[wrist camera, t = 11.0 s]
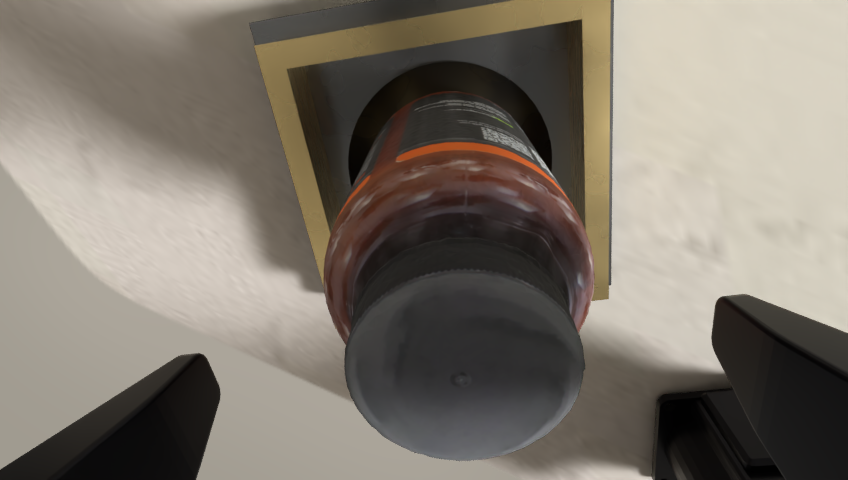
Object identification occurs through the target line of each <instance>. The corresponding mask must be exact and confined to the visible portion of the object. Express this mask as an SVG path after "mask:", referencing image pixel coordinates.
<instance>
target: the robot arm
mask: <svg viewBox="0 0 848 480" xmlns="http://www.w3.org/2000/svg"><path fill="white" fill-rule="evenodd" d="M711 339H712V346H713V349H714V352H715V354H716V356H717V358H718V360H719V362H720V364H721V366H722V368H723V370H724V372H725V374H726V376H727V378H728V380H729V382H730V384H731V386H732V389H720V390H709V391H697V392H686V393H674V394H666V395H662V396H661V397H659V398H658V399H657V402H656V418H655V433H654V449H653V464H652V479H653V480H848V333H846V332H843V331H841V330H838V329H835V328H833V327H830V326H828V325H825V324H822V323H820V322H817V321H815V320H812V319H810V318H807V317H804V316H802V315H799V314H797V313H794V312H791V311H789V310H786V309H784V308H781V307H778V306H776V305H773V304H771V303H768V302H765V301H763V300H760V299H758V298H755V297H753V296H750V295H746V294H740V295H731V296H722V297H720V298H719V299H718V300H717V302H716V305H715V312H714V320H713V328H712V338H711ZM219 401H220V388H219V385H218V383H217V380H216V378H215V376H214V373H213V371H212V369H211V367H210V364H209V362H208V360H207V358H206V357H205V356H204V355H203V354H200V353H196V354H186V355H180V356H178V357H176V358H174V359H173V360H171V361H170V362H168V363H167V364H165V365H164V366H162V367H160V368H159V369H157V370H156V371H154V372H153V373H151V374H149V375H148V376H146V377H145V378H143V379H142V380H140V381H139V382H137V383H135V384H134V385H132V386H131V387H129V388H128V389H126V390H125V391H123V392H121V393H120V394H118V395H116V396H115V397H113V398H112V399H110V400H109V401H107V402H105V403H104V404H102V405H101V406H99V407H98V408H96V409H95V410H93V411H91V412H90V413H88V414H87V415H85V416H84V417H82V418H80V419H79V420H77V421H76V422H74V423H73V424H71V425H69V426H68V427H66V428H65V429H63V430H62V431H60V432H59V433H57V434H55V435H54V436H52V437H51V438H49V439H47V440H46V441H44V442H43V443H41V444H40V445H38V446H36V447H35V448H33V449H32V450H30V451H29V452H27V453H26V454H24V455H23V456H21V457H19V458H18V459H16V460H15V461H13V462H12V463H10V464H8V465H7V466H5V467H4V468H2V469H1V470H0V480H196V478H197V475H198V472H199V468H200V466H201V462H202V459H203V456H204V452H205V449H206V445H207V442H208V439H209V435H210V431H211V428H212V425H213V421H214V418H215V415H216V411H217V408H218V404H219ZM667 404H669V405H667Z"/></svg>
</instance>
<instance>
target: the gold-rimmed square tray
mask: <svg viewBox="0 0 848 480" xmlns="http://www.w3.org/2000/svg"><path fill="white" fill-rule="evenodd" d="M613 20H614V0H374V1H369V2H363V3H358V4H352V5H347V6H341V7H335V8H330V9H324V10H319V11H313V12H308V13H302V14H297V15H291V16H286V17H280V18H274V19H269V20H263V21H258V22H252V23H249V24H250V28H251V31H252V35H253V38H254V42H255V45H256V46H254V48H255V51H256V55H257V58H258V62H259V65H260V69H261V72H262V76H263V79H264V82H265V86H266V89H267V93H268V96H269V100H270V103H271V107H272V110H273V114H274V117H275V121H276V124H277V128H278V131H279V134H280V138H281V141H282V145H283V148H284V152H285V155H286V159H287V162H288V166H289V169H290V173H291V176H292V180H293V183H294V186H295V190H296V193H297V197H298V200H299V204H300V207H301V211H302V214H303V218H304V221H305V225H306V228H307V232H308V235H309V239H310V242H311V245H312V249H313V252H314V256H315V259H316V263H317V266H318V270H319V273H320V277H321V280H322V284H323V283H324V280H323V278H324V260H325V255H326V250H327V246H328V242H329V238H330V235H331V232H332V230H333V227H334V225H335V222H336V220H337V218H338V216H339V214H340V211H341V209H342V207H343V204H344V201H345V200H346V198H347V196H348V194H349V192H350V190H351V188H352V186H353V184H354V182H355V180H356V178H357V176H358V174H359V172H360V170H361V168H362V166H363V164H364V162H365V160H366V158H367V155H368V153H369V151H370V149H371V147H372V145H373V143H374V141H375V139H376V137H377V135H378V134H379V132H380V131H381V129H382V127H383V126H384V125H385V124H386V122H387V121H388V120H389V119H390V118H391V117H392V116H393V115H394V114H395V113H396V112H397V111H399V110H400V109H401V108H402V107H404V106H405V105H407V104H408V103H410V102H412V101H414V100H416V99H418V98H421V97H423V96H426V95H429V94H433V93H437V92H442V91H459V92H465V93H471V94H475V95H478V96H481V97H483V98H485V99H488V100H490V101H491V102H493V103H495V104H497V105H498V106H500V107H501V108H502V109H503V110H505V111H506V112H507V113H509V114H510V115H511V116H512V118H513V119H514V120H515V121H516V122H517V124H518V125H519V126H520V127H521V129H522V130H523V131H524V133H525V134H526V136H527V138H528V139H529V141H530V142H531V144H532V145H533V147H534V148H535V150H536V151H537V153H538V154H539V155H540V157H541V158H542V160H543V162H544V163H545V164H546V166H547V167H548V169H549V171H550V172H551V173H552V175H553V176H554V178H555V179H556V181H557V182H558V184H559V185H560V187H561V188H562V189H563V191H564V192H565V194H566V195H567V197H568V199H569V201H570V202H571V203H572V205H573V207H574V208H575V210H576V212H577V214H578V215H579V217H580V219H581V221H582V223H583V226H584V229H585V231H586V233H587V236H588V239H589V242H590V245H591V249H592V254H593V258H594V273H595V280H594V293H593V297H592V300H591V301H595V300H604V299H609V285H611V230H612V125H613ZM323 287H324V285H323ZM335 329H336V327H335Z"/></svg>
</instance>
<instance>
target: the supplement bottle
mask: <svg viewBox="0 0 848 480" xmlns="http://www.w3.org/2000/svg"><path fill="white" fill-rule="evenodd" d="M323 280H324V283H323V285H324V293H325V297H326V303H327V305H328V310H329V312H330V314H331V317H332V320H333V323H334V325H335V327H336V329H337V331H338V333H339V335H340V336H341V338H342V339H343V341H344V342H345V344H346V348H345V365H344V367H345V376H346V382H347V387H348V389H349V392H350V395H351V398H352V399H353V401H354V403H355V405H356V407H357V409H358V410H359V412H360V413H361V414H362V415H363V416H364V418H365V419H366V420H367V422H368V423H369V424H370V425H371V426H372V427H374V428H375V429H376V430H377V431H378V432H379V433H380V434H381V435H382V436H384V437H385V438H387V439H388V440H390V441H392V442H394V443H396V444H397V445H399V446H401V447H404V448H406V449H408V450H410V451H413V452H415V453H419V454H424V455H427V456H429V457H434V458H439V459H447V460H456V461H470V460H480V459H488V458H492V457H497V456H501V455H506V454H509V453H512V452H514V451H517V450H519V449H522V448H524V447H526V446H528V445H530V444H532V443H533V442H535V441H536V440H538V439H540V438H542V437H544V436H545V435H547V434H548V433H549V432H550V431H551V430H552V429H553V428H554V427H555V426H556V425H558V424H559V423H560V422H561V420H562V419H563V418H564V417H565V416H566V415H567V413H568V412H569V411H570V410H571V408H572V406H573V404H574V403H575V400H576V398H577V396H578V394H579V390H580V386H581V383H582V379H583V371H584V369H585V362H584V355H583V346H582V343H581V339H580V336H579V331H580V329H581V327H582V325H583V323H584V321H585V319H586V316H587V314H588V311H589V307H590V305H591V300H592V297H593V293H594V280H595V273H594V258H593V254H592V249H591V245H590V242H589V239H588V236H587V233H586V231H585V229H584V226H583V223H582V221H581V219H580V217H579V215H578V214H577V212H576V210H575V208H574V207H573V205H572V203H571V202H570V201H569V199H568V197H567V195H566V194H565V192H564V191H563V189H562V188H561V187H560V185H559V184H558V182H557V181H556V179H555V178H554V176H553V175H552V173H551V172H550V171H549V169H548V167H547V166H546V164H545V163H544V162H543V160H542V158H541V157H540V155H539V154H538V153H537V151H536V150H535V148H534V147H533V145H532V144H531V142H530V141H529V139H528V138H527V136H526V134H525V133H524V131H523V130H522V129H521V127H520V126H519V125H518V124H517V122H516V121H515V120H514V119H513V118H512V116H511V115H510V114H509V113H507V112H506V111H505V110H503V109H502V108H501V107H500V106H498V105H497V104H495V103H493V102H491V101H490V100H488V99H485V98H483V97H481V96H478V95H475V94H471V93H465V92H459V91H442V92H437V93H433V94H429V95H426V96H423V97H421V98H418V99H416V100H414V101H412V102H410V103H408V104H407V105H405V106H404V107H402V108H401V109H400V110H399V111H397V112H396V113H395V114H394V115H393V116H392V117H391V118H390V119H389V120H388V121H387V122H386V124H385V125H384V126H383V127H382V129H381V131H380V132H379V134H378V135H377V137H376V139H375V141H374V143H373V145H372V147H371V149H370V151H369V153H368V155H367V158H366V160H365V162H364V164H363V166H362V168H361V170H360V172H359V174H358V176H357V178H356V180H355V182H354V184H353V186H352V188H351V190H350V192H349V194H348V196H347V198H346V200H345V201H344V204H343V207H342V209H341V211H340V214H339V216H338V218H337V220H336V222H335V225H334V227H333V230H332V232H331V235H330V238H329V242H328V246H327V250H326V255H325V260H324V278H323Z"/></svg>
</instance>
